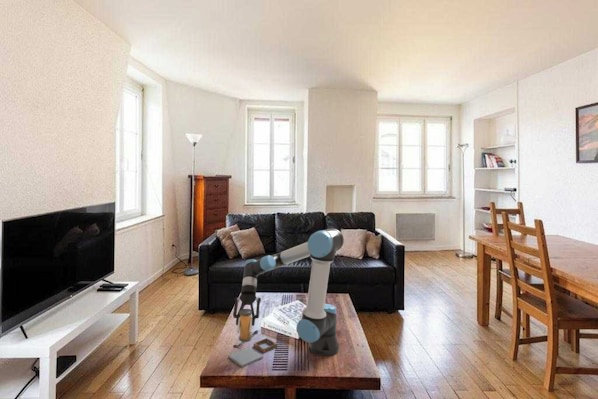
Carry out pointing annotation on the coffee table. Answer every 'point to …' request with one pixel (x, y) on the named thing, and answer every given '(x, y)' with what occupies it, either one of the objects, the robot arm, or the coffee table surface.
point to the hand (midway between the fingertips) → (244, 331)
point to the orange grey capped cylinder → (245, 325)
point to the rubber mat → (245, 357)
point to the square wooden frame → (267, 347)
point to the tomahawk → (244, 342)
